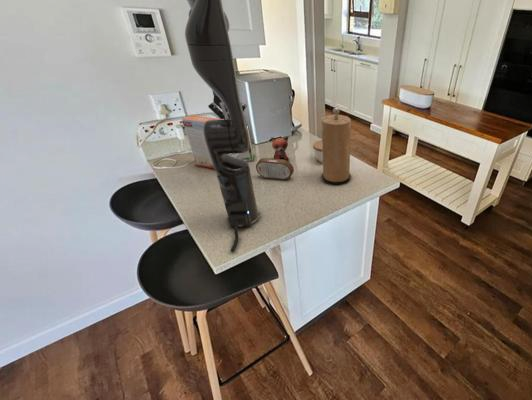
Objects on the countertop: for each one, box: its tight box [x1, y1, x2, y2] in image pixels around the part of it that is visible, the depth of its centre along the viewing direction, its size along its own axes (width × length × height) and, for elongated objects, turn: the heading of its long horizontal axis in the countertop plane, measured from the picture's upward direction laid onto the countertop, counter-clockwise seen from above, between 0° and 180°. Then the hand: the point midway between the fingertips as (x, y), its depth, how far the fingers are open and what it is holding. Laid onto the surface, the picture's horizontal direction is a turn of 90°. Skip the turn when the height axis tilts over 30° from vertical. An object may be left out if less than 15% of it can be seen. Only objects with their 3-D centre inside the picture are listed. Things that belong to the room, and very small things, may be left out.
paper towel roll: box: [321, 106, 352, 186], centre depth 110 cm, size 12×12×30 cm
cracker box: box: [181, 114, 222, 170], centre depth 116 cm, size 14×6×21 cm, turn 74°
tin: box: [255, 157, 295, 181], centre depth 113 cm, size 15×3×8 cm, turn 84°
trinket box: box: [312, 139, 323, 164], centre depth 129 cm, size 11×11×9 cm
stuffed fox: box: [270, 136, 290, 162], centre depth 126 cm, size 8×11×12 cm
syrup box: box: [237, 125, 254, 162], centre depth 125 cm, size 6×6×14 cm
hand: (233, 130), depth 103 cm, fingers closed
